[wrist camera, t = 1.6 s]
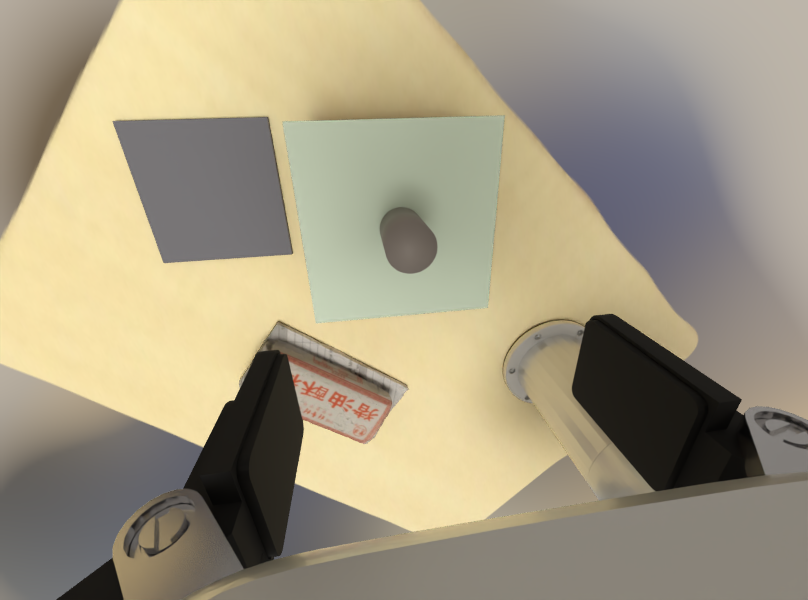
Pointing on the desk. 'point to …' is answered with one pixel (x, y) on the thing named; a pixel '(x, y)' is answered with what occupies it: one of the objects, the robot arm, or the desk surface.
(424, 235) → the lid
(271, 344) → the packaged product
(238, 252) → the mat
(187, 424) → the desk surface
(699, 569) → the robot arm
